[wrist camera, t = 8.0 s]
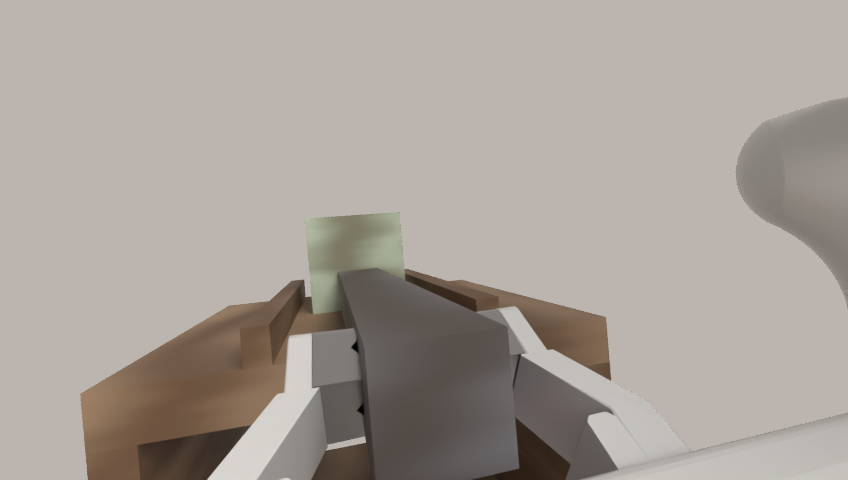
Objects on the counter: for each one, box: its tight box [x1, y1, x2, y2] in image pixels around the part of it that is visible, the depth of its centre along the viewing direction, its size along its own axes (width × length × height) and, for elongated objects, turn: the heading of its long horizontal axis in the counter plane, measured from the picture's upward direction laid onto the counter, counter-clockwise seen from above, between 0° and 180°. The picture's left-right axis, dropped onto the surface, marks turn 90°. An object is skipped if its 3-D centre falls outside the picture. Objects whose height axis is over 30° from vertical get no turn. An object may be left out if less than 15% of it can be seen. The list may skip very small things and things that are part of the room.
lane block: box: [305, 212, 519, 480], centre depth 20 cm, size 6×26×6 cm, turn 13°
